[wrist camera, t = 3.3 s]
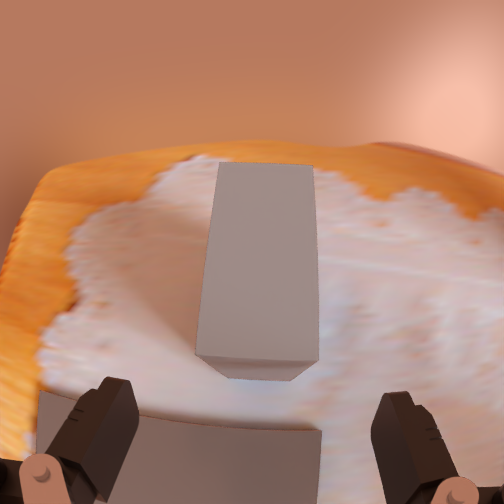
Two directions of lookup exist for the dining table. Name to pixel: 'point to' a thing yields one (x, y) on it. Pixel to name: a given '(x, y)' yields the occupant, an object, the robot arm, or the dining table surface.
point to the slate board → (203, 461)
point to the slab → (261, 273)
